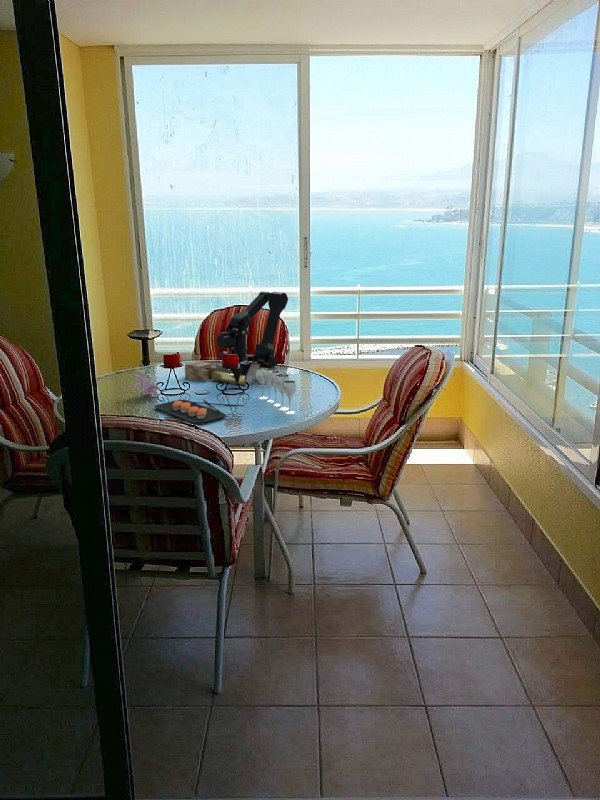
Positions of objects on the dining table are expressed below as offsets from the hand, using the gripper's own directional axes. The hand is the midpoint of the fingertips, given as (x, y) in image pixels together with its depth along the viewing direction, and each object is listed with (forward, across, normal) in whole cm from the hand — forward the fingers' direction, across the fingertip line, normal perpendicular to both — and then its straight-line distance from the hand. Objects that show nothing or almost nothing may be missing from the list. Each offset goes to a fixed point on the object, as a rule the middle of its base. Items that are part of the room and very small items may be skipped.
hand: (240, 381), depth 275 cm
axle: (-1, 0, -6) cm, 6 cm away
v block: (+2, -16, -14) cm, 21 cm away
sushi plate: (+2, +38, +10) cm, 39 cm away
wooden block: (+1, 0, -21) cm, 21 cm away
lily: (+2, +37, -20) cm, 42 cm away
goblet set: (+2, +19, +29) cm, 35 cm away
